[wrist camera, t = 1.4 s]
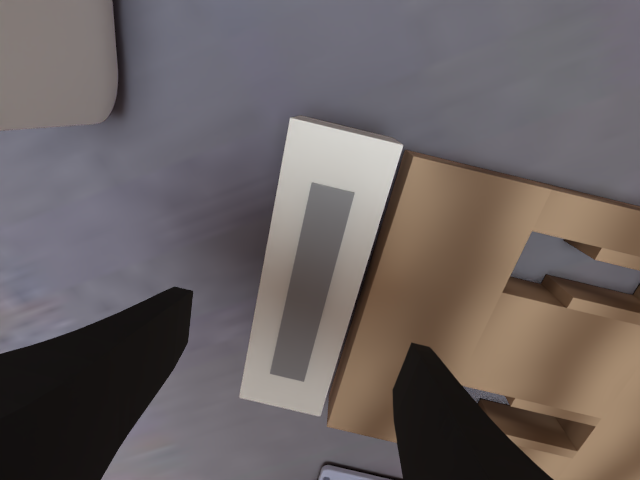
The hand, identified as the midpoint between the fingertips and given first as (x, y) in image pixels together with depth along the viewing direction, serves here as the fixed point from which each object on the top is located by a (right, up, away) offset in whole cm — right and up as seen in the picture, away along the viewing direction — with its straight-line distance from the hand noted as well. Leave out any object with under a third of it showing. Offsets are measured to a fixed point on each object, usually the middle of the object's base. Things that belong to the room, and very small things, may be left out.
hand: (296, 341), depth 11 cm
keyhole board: (+13, -2, +9) cm, 16 cm away
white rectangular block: (+1, +3, +8) cm, 8 cm away
